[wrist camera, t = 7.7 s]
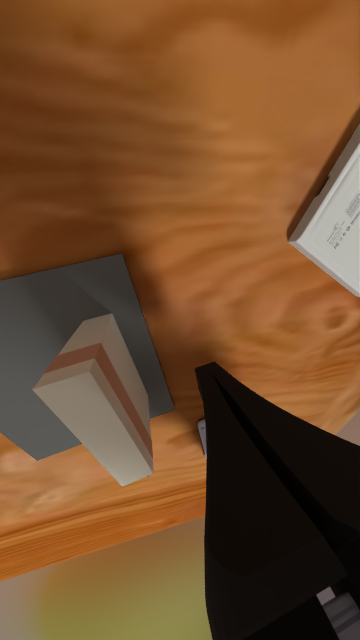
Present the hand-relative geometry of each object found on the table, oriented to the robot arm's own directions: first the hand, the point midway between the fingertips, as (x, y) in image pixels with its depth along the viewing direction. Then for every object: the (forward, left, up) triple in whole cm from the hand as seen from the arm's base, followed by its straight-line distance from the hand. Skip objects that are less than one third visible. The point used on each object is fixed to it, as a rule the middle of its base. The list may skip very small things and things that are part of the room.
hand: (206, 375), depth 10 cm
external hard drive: (+6, -17, -5) cm, 19 cm away
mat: (0, +10, -5) cm, 11 cm away
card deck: (0, +6, -4) cm, 7 cm away
